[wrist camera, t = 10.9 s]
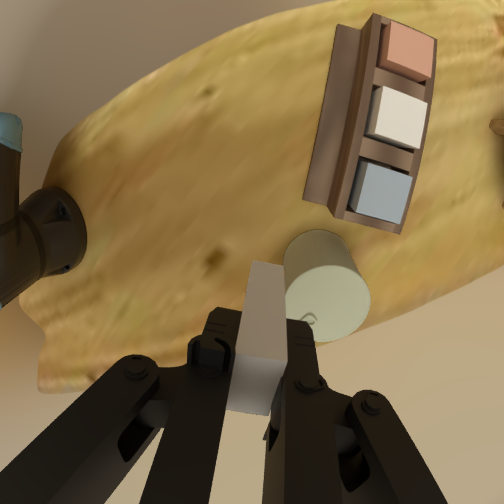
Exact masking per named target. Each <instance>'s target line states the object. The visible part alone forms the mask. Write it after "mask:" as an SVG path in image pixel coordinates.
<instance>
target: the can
mask: <svg viewBox="0 0 504 504" xmlns="http://www.w3.org/2000/svg"><path fill="white" fill-rule="evenodd" d="M283 265H284V271H285V281H284V284H285V305H286V318H288V319H295V320H301V321H307V323H308V324H309V325H310V327H311V328H312V330H313V335H314V341H317V342H328V341H334V340H338V339H341V338H343V337H345V336H347V335H349V334H351V333H352V332H354V331H355V330H356V329H357V328H358V327H359V326H360V325H361V324H362V322H363V321H364V320H365V318H366V316H367V314H368V311H369V308H370V301H371V299H370V291H369V288H368V286H367V284H366V282H365V281H364V279H363V278H362V276H361V274H360V273H359V271H358V269H357V267H356V265H355V263H354V261H353V259H352V258H351V256H350V252H349V249H348V247H347V245H346V244H345V242H344V241H343V240H342V239H341V238H340V237H339V236H337V235H336V234H334V233H332V232H329V231H325V230H312V231H308V232H305V233H303V234H301V235H299V236H298V237H296V238H295V239H294V240H293V241H292V242H291V243H290V244H289V246H288V248H287V250H286V252H285V255H284V260H283Z"/></svg>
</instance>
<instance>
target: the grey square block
mask: <svg viewBox="0 0 504 504" xmlns="http://www.w3.org/2000/svg"><path fill="white" fill-rule="evenodd" d="M412 179H413V177H410V176H408V175H405V174H402V173H399V172H396V171H393V170H390V169H387V168H384V167H380V166H377V165H374V164H371V163H367V162H363V161H360V160H358V162H357V166H356V170H355V175H354V179H353V183H352V187H351V191H350V195H349V199H348V203H347V204H348V205H349V206H350V207H351V208H352V209H353V210H354V211H355V212H357V213H360V214H364V215H368V216H372V217H375V218H379V219H383V220H386V221H390V222H393V223H397V224H400V222H401V219H402V215H403V212H404V208H405V205H406V201H407V198H408V194H409V190H410V187H411V183H412Z"/></svg>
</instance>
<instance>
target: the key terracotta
mask: <svg viewBox="0 0 504 504" xmlns="http://www.w3.org/2000/svg"><path fill="white" fill-rule="evenodd" d="M433 47H434V39H433V38H431V37H428V36H426V35H424V34H422V33H420V32H418V31H415V30H413V29H411V28H408V27H406V26H404V25H401V24H399V23H396V22H394V21H391V22H390V23H389V24H388V25H387V26H386V27H385V28H384V29H383V30H382V31H381V33H380V37H379V45H378V53H377V60H376V68H379V69H382V70H385V71H388V72H390V73H393V74H396V75H398V76H401V77H403V78H406V79H408V80H411V81H413V82H415V83H419V82H421V81H424V80H426V79H429V78H431V72H432V61H433Z"/></svg>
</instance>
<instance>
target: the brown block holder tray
mask: <svg viewBox="0 0 504 504" xmlns="http://www.w3.org/2000/svg"><path fill="white" fill-rule="evenodd" d="M391 21H394V20H392V19H389V18H386V17H383V16H381V15H378V14H375V13H373V14H372V15H371V17H370V18H369V19H368V21H367V22H366V24H365V25H364V27H363V28H362V29H361V30H358V29H355V28H352V27H348V26H344V25H341V24H337V27H336V33H335V39H334V45H333V51H332V57H331V62H330V68H329V74H328V79H327V84H326V90H325V95H324V100H323V105H322V110H321V115H320V120H319V125H318V130H317V135H316V140H315V144H314V149H313V154H312V159H311V163H310V168H309V172H308V177H307V181H306V186H305V190H304V194H303V200H305V201H309V202H313V203H318V204H322V205H326V206H327V207H328V209H329V210H330V212H331V214H332V215H333V217H334V218H338V219H342V220H346V221H350V222H354V223H358V224H362V225H366V226H370V227H373V228H377V229H381V230H385V231H388V232H392V233H396V234H399V235H400V233H401V230H402V227H403V225H404V222H405V219H406V215H407V212H408V208H409V205H410V201H411V198H412V194H413V190H414V187H415V183H416V179H417V175H418V171H419V166H420V162H421V157H422V153H423V148H424V143H425V138H426V133H427V127H428V122H429V116H430V109H431V103H432V95H433V88H434V79H435V69H436V52H437V39H435V38H433V37H431V36H429V35H427V34H425V33H423V32H420V31H418V30H416V29H414V28H411V27H409V26H407V25H404V24H402V23H399V22H397V21H394V22H396V23H399V24H401V25H404V26H406V27H408V28H411V29H413V30H415V31H418V32H420V33H422V34H424V35H426V36H428V37H431V38H433V39H434V47H433V61H432V72H431V78H429V79H426V80H424V81H421V82H419V83H415V82H413V81H411V80H408V79H406V78H403V77H401V76H398V75H396V74H393V73H390V72H388V71H385V70H382V69H379V68H376V60H377V53H378V45H379V37H380V33H381V31H382V30H383V29H384V28H385V27H386V26H387V25H388V24H389V23H390V22H391ZM382 86H385V87H388V88H391V89H394V90H396V91H399V92H401V93H404V94H407V95H409V96H411V97H414V98H416V99H419V100H421V101H423V102H426V103H428V104H427V110H426V116H425V122H424V128H423V133H422V138H421V143H420V148H419V149H415V148H404V147H395V146H392V145H390V144H387V143H384V142H381V141H378V140H374V139H371V138H368V137H365V136H363V134H364V129H365V124H366V119H367V114H368V109H369V103H370V98H371V92H373V91H375V90H377V89H378V88H380V87H382ZM358 160H360V161H363V162H367V163H371V164H374V165H377V166H380V167H384V168H387V169H390V170H393V171H396V172H399V173H402V174H405V175H408V176H410V177H413V179H412V183H411V187H410V190H409V194H408V198H407V201H406V205H405V208H404V212H403V215H402V219H401V222H400V224H397V223H393V222H390V221H386V220H383V219H379V218H375V217H372V216H368V215H364V214H360V213H357V212H355V211H354V210H353V209H352V208H351V207H350V206H349V205H348V204H347V203H348V199H349V195H350V191H351V187H352V183H353V179H354V175H355V170H356V166H357V162H358Z"/></svg>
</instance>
